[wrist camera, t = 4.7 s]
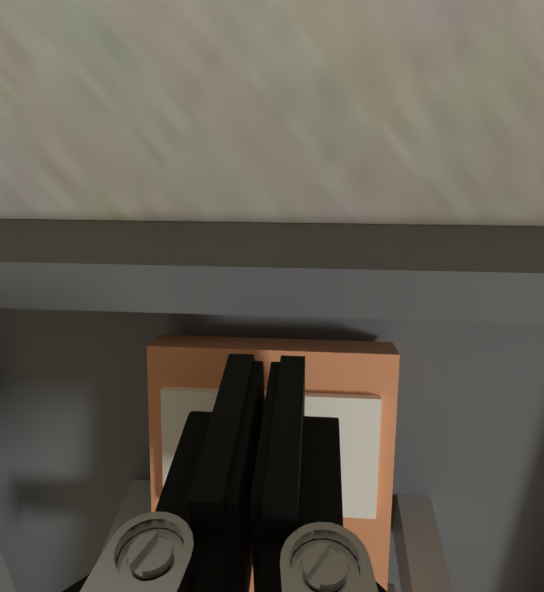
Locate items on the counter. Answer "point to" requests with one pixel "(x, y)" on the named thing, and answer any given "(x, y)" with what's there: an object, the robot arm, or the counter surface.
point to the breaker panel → (275, 324)
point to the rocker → (318, 402)
